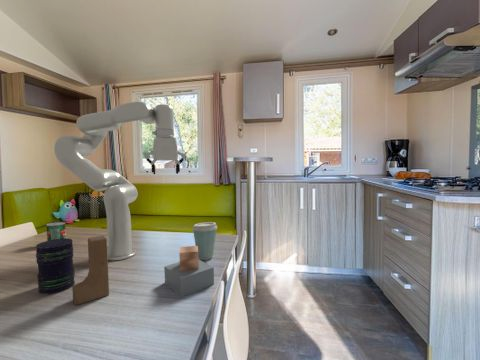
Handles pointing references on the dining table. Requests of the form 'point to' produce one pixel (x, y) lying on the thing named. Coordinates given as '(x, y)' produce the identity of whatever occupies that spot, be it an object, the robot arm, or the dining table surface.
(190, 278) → the slate box
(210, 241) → the disposable coffee cup
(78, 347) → the dining table surface
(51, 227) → the canned tomato
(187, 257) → the terracotta cube
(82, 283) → the wooden block
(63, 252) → the storage jar
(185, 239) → the dining table surface
